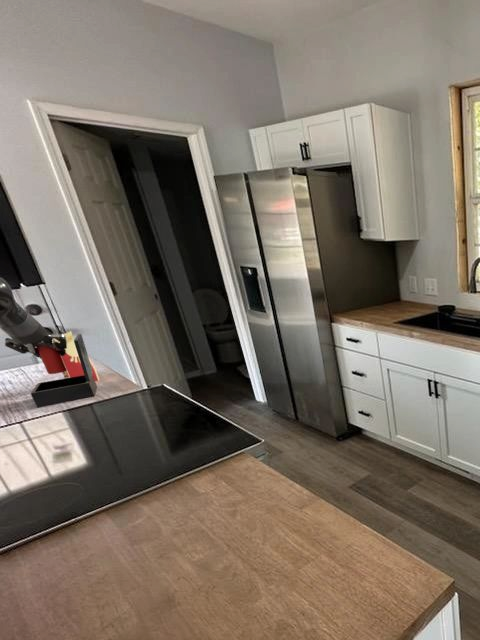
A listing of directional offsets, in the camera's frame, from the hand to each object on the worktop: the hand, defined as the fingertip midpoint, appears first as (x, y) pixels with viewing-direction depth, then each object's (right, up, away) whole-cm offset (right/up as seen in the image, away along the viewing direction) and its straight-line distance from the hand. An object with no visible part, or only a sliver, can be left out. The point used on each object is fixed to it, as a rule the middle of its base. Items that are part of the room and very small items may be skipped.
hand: (52, 354), depth 138 cm
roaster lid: (+6, -1, +3) cm, 7 cm away
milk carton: (-9, -10, +19) cm, 23 cm away
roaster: (+2, -15, +4) cm, 16 cm away
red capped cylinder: (+1, -6, 0) cm, 6 cm away
